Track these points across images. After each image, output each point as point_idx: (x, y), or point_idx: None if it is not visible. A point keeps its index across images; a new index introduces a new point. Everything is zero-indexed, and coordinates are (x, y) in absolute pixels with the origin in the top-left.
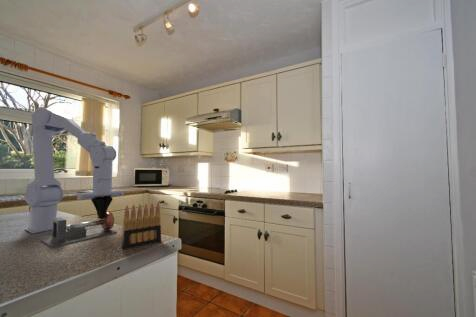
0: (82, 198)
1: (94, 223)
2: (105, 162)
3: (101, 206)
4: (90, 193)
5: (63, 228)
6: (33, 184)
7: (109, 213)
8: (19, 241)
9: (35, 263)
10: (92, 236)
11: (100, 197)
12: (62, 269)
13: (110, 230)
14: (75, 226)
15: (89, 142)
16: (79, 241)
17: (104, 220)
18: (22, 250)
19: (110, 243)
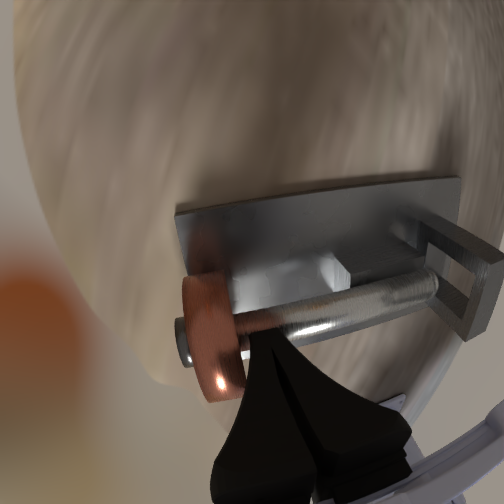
0: (500, 413)
1: (312, 303)
2: None
3: (322, 393)
4: (490, 469)
5: (465, 243)
6: None
7: (214, 363)
8: (452, 330)
9: (492, 56)
10: (323, 203)
11: (352, 490)
12: None
13: (200, 270)
14: (410, 280)
15: None
16: (380, 182)
17: (244, 327)
18: (488, 222)
19: (281, 15)
